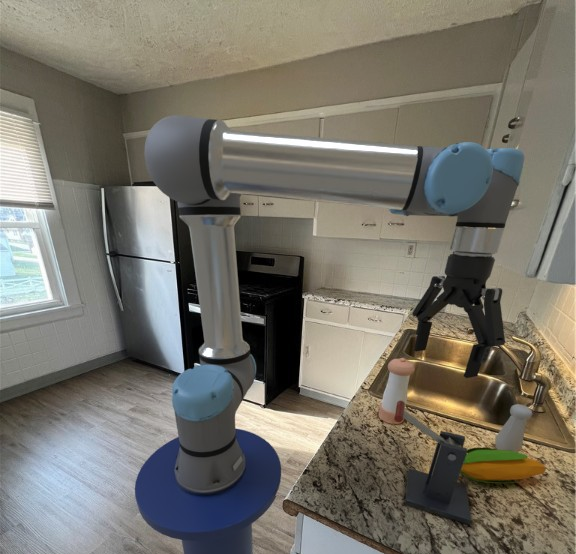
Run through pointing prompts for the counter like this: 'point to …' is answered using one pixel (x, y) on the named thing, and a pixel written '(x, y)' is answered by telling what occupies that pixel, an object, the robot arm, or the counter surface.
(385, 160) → the robot arm
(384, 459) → the counter surface
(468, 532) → the counter surface
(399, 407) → the lever
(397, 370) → the pepper shaker
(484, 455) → the corn
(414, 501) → the bracket
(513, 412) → the salt shaker
